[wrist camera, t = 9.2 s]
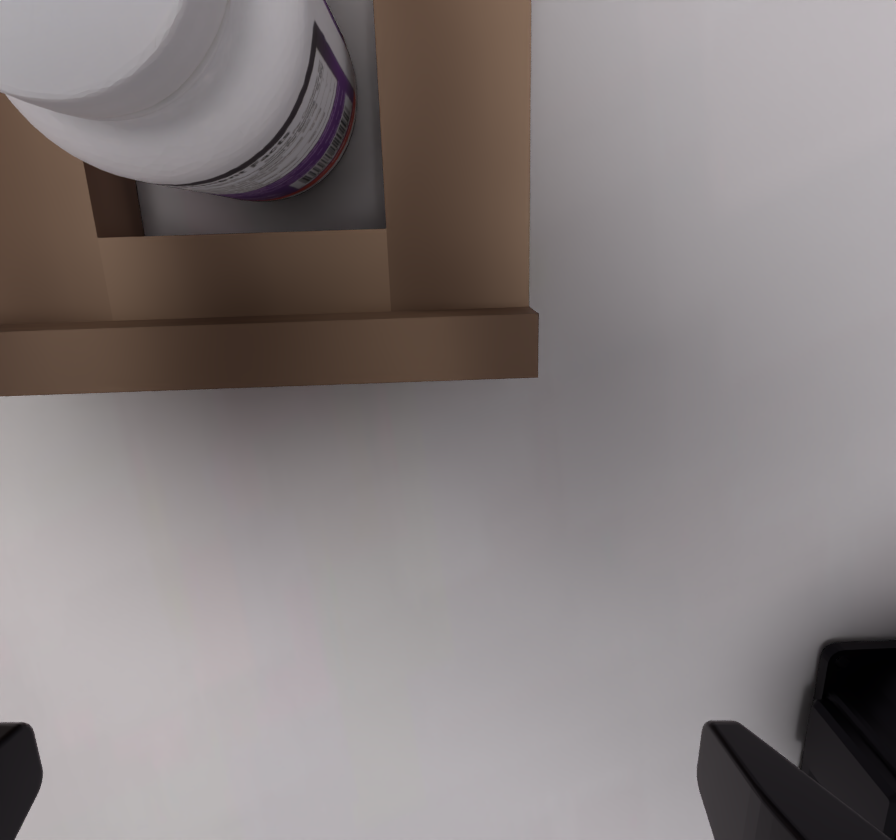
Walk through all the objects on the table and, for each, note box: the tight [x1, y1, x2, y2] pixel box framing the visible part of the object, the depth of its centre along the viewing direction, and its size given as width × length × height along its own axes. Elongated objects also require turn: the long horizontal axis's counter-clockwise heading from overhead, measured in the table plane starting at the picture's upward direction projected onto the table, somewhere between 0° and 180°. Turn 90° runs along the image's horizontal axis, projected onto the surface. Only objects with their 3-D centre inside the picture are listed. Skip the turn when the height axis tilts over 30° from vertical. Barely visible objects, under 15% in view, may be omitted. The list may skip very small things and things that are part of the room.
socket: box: [0, 0, 539, 396], centre depth 14 cm, size 14×14×4 cm
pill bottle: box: [0, 0, 357, 201], centre depth 12 cm, size 5×5×10 cm
